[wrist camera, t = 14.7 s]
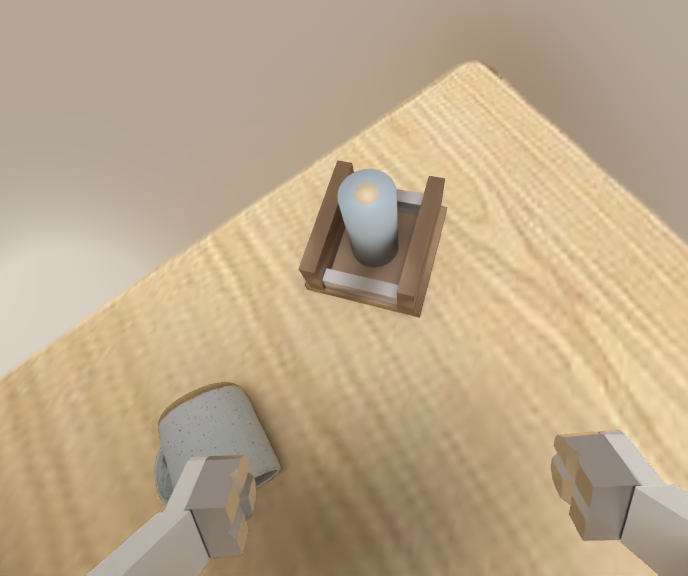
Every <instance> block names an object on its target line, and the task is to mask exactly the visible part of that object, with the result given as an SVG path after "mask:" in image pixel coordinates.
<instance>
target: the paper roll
mask: <svg viewBox="0 0 688 576" xmlns="http://www.w3.org/2000/svg"><path fill="white" fill-rule="evenodd" d="M337 198H338V203H339V207H340V210H341V213H342V217H343V220H344V223H345V227H346V230H347V234H348V237H349V240H350V244H351V247H352V250H353V254H354V256H355V258H356V259H357V260H358V261H359V262H360V263H361V264H363V265H365V266H367V267H374V268H375V267H382V266H384V265H387V264H388V263H390V262H391V261H392V260H393V259H394V258H395V256H396V255H397V252H398V248H399V242H398V218H397V193H396V186H395V184H394V182H393V180H392V179H391V178H390V177H389V176H388V175H387V174H385V173H384V172H381V171H379V170H374V169H364V170H359V171H356V172H354V173H352V174H351V175H349V176H348V177H347V178H346V179H345V180H344V181H343V182H342V183H341V185H340V187H339V190H338V196H337Z"/></svg>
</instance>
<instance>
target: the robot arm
mask: <svg viewBox="0 0 688 576" xmlns="http://www.w3.org/2000/svg"><path fill="white" fill-rule="evenodd" d="M554 447H555V449H556V451H557V454H556V455H555V456H554V457H553V458H552V461H551V472H552V478H553V482H554V485H555V487H556V490H557V492H558V494H559V496H560V498H562V499H563V500H564V501H566V502H567V503H568V504H570V511H569V515H570V517H571V519H572V521H573V523H574V525H575V527H576V529H577V531H578V532H579V534H580V536H581V538H582V540H583V541H589V540H621V541H620V542H621V543H622V544H623V545H625V546H626V547H627V548H628V549H629V550H630V551H631V552H633V553H634V554H635V555H636V556H637V557H638V558H640V559H641V560H642V561H643V562H644V563H645V564H647V565H648V566H649V567H650V568H651V569H652V570H653V571H655V572H656V573H657V574H658V575H659V576H688V493H687V492H685V491H683V490H682V489H680V488H678V487H676V486H675V485H666V484H665V482H664V481H663V480H662V479H661V478H660V476H659V475H658V474H657V473H656V471H655V470H654V469H653V468H652V467H651V465H650V464H649V463H648V462H647V461H646V459H645V458H644V457H643V456H642V454H641V453H640V452H639V451H638V450H637V448H636V447H635V446H634V445H633V443H632V442H631V441H630V440H629V439H628V437H627V436H626V435H625V434H624V433H623V432H621V431H620V430H615V431H601V432H586V433H572V434H559V435H557V436H556V437H555V440H554ZM249 466H250V463H249V460H248V457H247V455H226V456H207V457H191V458H190V459H189V460H188V461H187V463H186V465H185V467H184V469H183V471H182V473H181V476H180V478H179V480H178V482H177V484H176V486H175V488H174V490H173V493H172V495H171V497H170V499H169V501H168V503H167V505H166V507H165V509H164V512H158V513H156V514H155V515H154V516H153V517H152V518H151V519H150V520H148V521H147V522H146V523H145V524H144V525H143V526H142V527H140V528H139V529H138V530H137V531H136V532H135V533H134V534H132V535H131V536H130V537H129V538H128V539H127V540H126V541H124V542H123V543H122V544H121V545H120V546H119V547H117V548H116V549H115V550H114V551H113V552H112V553H111V554H109V555H108V556H107V557H106V558H105V559H104V560H103V561H101V562H100V563H99V564H98V565H97V566H96V567H95V568H93V569H92V570H91V571H90V572H89V573H88V574H87V575H85V576H198V575H199V574H200V572H201V571H202V570H203V569H204V567H205V566H206V565H207V563H208V562H209V561H210V559H209V558H219V557H233V556H242V555H243V551H244V547H245V543H246V539H247V536H248V532H249V529H248V526H247V522H246V521H247V520H248V518H249V517H250V516H251V515H252V514H253V511H254V507H255V502H256V484H255V480H254V476H253V475H251V474H250V473H249V472H248V470H249Z"/></svg>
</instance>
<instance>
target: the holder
mask: <svg viewBox="0 0 688 576" xmlns="http://www.w3.org/2000/svg"><path fill="white" fill-rule="evenodd" d="M352 173H354V170H353V165H352V163H349V162H343V161H337V163H336V166H335V169H334V171H333V174H332V177H331V180H330V183H329V185H328V188H327V191H326V194H325V197H324V200H323V202H322V205H321V208H320V211H319V214H318V216H317V219H316V222H315V225H314V228H313V230H312V233H311V236H310V239H309V242H308V244H307V247H306V250H305V253H304V256H303V258H302V261H301V264H300V267H299V271H300V272H301V274H302V275H303V277H304V278H305V280H306V283H305V287H306V288H307V289H308V290H312V291H316V292H320V293H324V294H328V295H332V296H336V297H340V298H344V299H348V300H352V301H356V302H360V303H364V304H368V305H372V306H376V307H380V308H384V309H388V310H392V311H397V312H401V313H405V314H409V315H413V316H417V317H420V314H421V310H422V306H423V302H424V298H425V294H426V290H427V286H428V282H429V278H430V274H431V271H432V267H433V263H434V259H435V255H436V251H437V247H438V243H439V239H440V235H441V231H442V227H443V223H444V219H445V215H446V211H447V207H444V206H441V202H442V196H443V189H444V183H445V178H439V177H433V176H429V177H428V181H427V185H426V188H425V192H424V194H420V193H415V192H409V191H404V190H398V189H396V193H397V218H398V242H399V248H398V252H397V255H396V256H395V258H394V259H393V260H392V261H391V262H390V263H388V264H387V265H384V266H382V267H375V268H374V267H367V266H365V265H363V264H361V263H360V262H359V261H358V260H357V259H356V258H355V256H354V254H353V250H352V247H351V244H350V240H349V237H348V234H347V230H346V227H345V223H344V220H343V217H342V213H341V210H340V207H339V203H338V198H337V196H338V190H339V187H340V185H341V183H342V182H343V181H344V180H345V179H346V178H347V177H348V176H349V175H351V174H352Z"/></svg>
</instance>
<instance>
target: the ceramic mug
mask: <svg viewBox="0 0 688 576" xmlns="http://www.w3.org/2000/svg"><path fill="white" fill-rule="evenodd" d="M158 429H159V439H160V443H161V449H160V451H159V452H158V454H157V458H156V463H155V481H156V486H157V491H158V494H159V496H160V498H161V500H162V502H163V504H164V505H165V506H166V505H167V503H168V501H169V499H170V497H171V495H172V493H173V490H174V488H175V486H176V484H177V482H178V480H179V478H180V476H181V473H182V471H183V469H184V467H185V465H186V463H187V461H188V460H189V459H190V458H191V457H207V456H226V455H247V457H248V460H249V463H250V466H249V470H248V472H249V473H250V474H251V475H253V476H254V480H255V484H256V489H257V488H259V487H260V486H262V485H263V484H265V483H266V482H268V481H269V480H270V479H272V478H273V477H274V476H275V475H276V474H278V473H279V471H280V469H281V466H280V463H279V461H278V459H277V457H276V455H275V453H274V451H273V449H272V447H271V445H270V442H269V440H268V438H267V436H266V434H265V431H264V430H263V428H262V426H261V424H260V422H259V420H258V418H257V416H256V413H255V411H254V409H253V406H252V404H251V402H250V400H249V398H248V397H247V396H246V394H245V393H244V391H243V390H242V389H241V388H240V387H239V386H238V385H236V384H233V383H227V382H222V383H215V384H211V385H208V386H205V387H202V388H199V389H197V390H194V391H192V392H190V393H188V394H186V395H184V396H183V397H181V398H179V399H178V400H176V401H175V402H174V403H172V404H171V405H170V406H169V407H168V408H167V409H166V410H165V411H164V412H163V414H162V415H161V417H160V419H159V422H158Z"/></svg>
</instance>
